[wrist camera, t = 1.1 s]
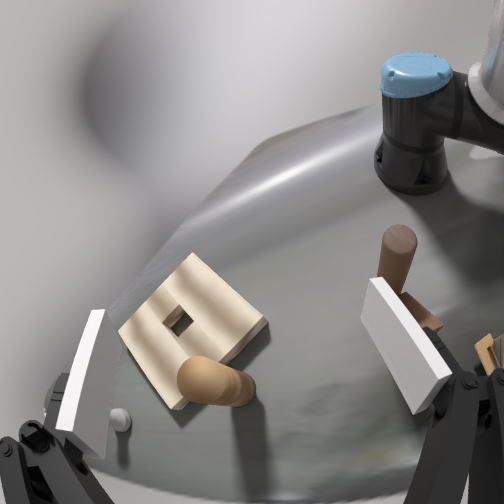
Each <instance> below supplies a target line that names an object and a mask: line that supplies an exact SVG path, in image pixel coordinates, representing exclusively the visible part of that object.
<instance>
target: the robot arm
mask: <svg viewBox="0 0 504 504" xmlns="http://www.w3.org/2000/svg"><path fill="white" fill-rule="evenodd" d="M380 89H381V92H382V106H383V133H382V135H381V138H380V140H379V142H378V145H377V147H376V150H375V154H374V166H375V170H376V172H377V174H378V176H379V177H380V178H381V180H382V181H383V182H384V183H386V184H387V185H388V186H390V187H391V188H393V189H395V190H397V191H399V192H402V193H406V194H411V195H424V194H429V193H432V192H434V191H436V190H437V189H439V188H440V187H441V186H442V184H443V183H444V180H445V177H446V173H447V160H446V154H445V149H444V137H446V138H451V139H455V140H459V141H463V142H466V143H470V144H473V145H477V146H480V147H484V148H487V149H490V150H493V151H496V152H498V153H500V154H502V155H504V0H494V5H493V12H492V18H491V24H490V29H489V34H488V39H487V43H486V48H485V52H484V57H483V60H482V61H480V62H477V63H475V64H474V65H473V66H472V67H471V69H470V71H469V73H468V75H467V74H463V73H459V72H455V71H453V70H452V68H451V65H450V64H449V63H448V62H447V61H446V60H445V59H443V58H441V57H436V56H435V55H432V54H428V53H419V52H411V53H403V54H398V55H396V56H393V57H391V58H390V59H388V60H387V61H386V62H385V63H384V64H383V66H382V69H381V85H380ZM360 319H361V321H362V323H363V324H364V326H365V328H366V330H367V331H368V333H369V335H370V336H371V338H372V340H373V342H374V343H375V345H376V347H377V349H378V350H379V352H380V354H381V356H382V358H383V359H384V361H385V363H386V365H387V367H388V368H389V370H390V372H391V374H392V376H393V378H394V379H395V381H396V383H397V385H398V387H399V389H400V391H401V393H402V394H403V396H404V398H405V400H406V402H407V404H408V406H409V408H410V410H411V412H412V414H413V415H414V414H416V413H419V412H421V411H423V410H426V409H427V408H428V406H429V405H430V404H431V402H432V403H433V405H434V408H433V409H432V410H431V412H430V413H429V414H428V415H427V417H426V419H425V420H428V419H429V418H430V416H431V418H430V422H429V426H428V430H427V434H426V438H425V442H424V445H423V449H422V452H421V456H420V459H419V462H418V465H417V468H416V471H415V474H414V477H413V480H412V483H411V485H410V488H409V491H408V493H407V496H406V498H405V501H404V503H403V504H460V503H461V499H462V496H463V492H464V489H465V485H466V481H467V477H468V472H469V489H468V504H504V368H496V369H495V370H493V372H492V373H491V374H490V375H489V376H481V377H477V376H476V375H474V374H473V373H471V372H467V371H463V370H462V369H461V367H460V366H459V364H458V363H457V361H456V360H455V358H454V357H453V356H452V354H451V353H450V351H449V350H448V349H447V348H446V346H445V344H444V343H443V342H442V341H441V339H440V337H439V336H438V335H437V333H436V332H435V331H433V330H432V329H431V328H429V327H428V326H426V327H423V328H421V327H420V326H419V324H418V323H417V322H416V320H415V319H414V318H413V316H412V315H411V314H410V312H409V311H408V310H407V308H406V307H405V306H404V304H403V303H402V302H401V300H400V299H399V298H398V296H397V295H396V294H395V293H394V291H393V290H392V289H391V287H390V286H389V285H388V284H387V282H386V281H385V280H384V279H383V277H378V278H372V279H369V284H368V288H367V292H366V297H365V301H364V305H363V309H362V313H361V317H360ZM122 348H123V347H122V345H121V343H120V341H119V339H118V337H117V335H116V333H115V330H114V328H113V326H112V324H111V321H110V319H109V317H108V315H107V312H106V310H104V309H103V310H92V311H91V314H90V317H89V319H88V322H87V325H86V327H85V330H84V333H83V336H82V339H81V341H80V344H79V347H78V350H77V353H76V356H75V359H74V362H73V365H72V369H71V372H70V373H62V374H61V375H60V377H59V378H58V379H57V381H56V383H55V386H54V389H53V393H52V396H51V401H50V403H49V406H48V410H47V414H46V417H45V421H44V425H42V424H40V422H38V421H36V420H29V421H27V422H25V423H24V424H23V425H22V427H21V428H20V430H19V440H20V442H17V441H16V440H14V439H13V438H11V437H9V436H7V437H3V438H1V440H0V477H1V482H2V488H3V492H4V497H5V501H6V504H114V502H113V501H112V500H111V499H110V497H109V496H108V494H107V493H106V492H105V490H104V489H103V488H102V486H101V485H100V484H99V482H98V481H97V479H96V478H95V476H94V475H93V473H92V472H91V470H90V469H89V467H88V466H87V464H86V463H85V461H84V460H83V459H82V456H83V453H84V454H85V455H86V456H88V457H89V458H95V459H103V460H105V452H106V443H107V435H108V427H109V420H110V413H111V406H112V400H113V394H114V388H115V383H116V377H117V372H118V367H119V362H120V357H121V352H122Z"/></svg>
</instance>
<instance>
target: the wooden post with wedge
mask: <svg viewBox="0 0 504 504" xmlns="http://www.w3.org/2000/svg"><path fill="white" fill-rule="evenodd" d="M416 248H417V238H416V235H415V233H414V232H413V231H412V230H411V229H410V228H408V227H406V226H404V225H394V226H392V227H390V228H388V229H387V230H386V231H385V233H384V235H383V238H382V246H381V253H380V261H379V267H378V274H377V278H378V277H383V279H384V280H385V281H386V282H387V284H388V285H389V286H390V287H391V289H392V290H393V291H394V293H395V294H396V295H397V296H398V298H399V299H400V300H401V302H402V303H403V304H404V306H405V307H406V308H407V310H408V311H409V312H410V314H411V315H412V316H413V318H414V319H415V320H416V322H417V323H418V324H419V326H420V327H421V328H423V327H426V326H428V327H429V328H431V329H432V330H433V331H435V332H436V333H437V332H438V331H439V330H440V329H441V328H442V327H443V324H442V323H441V322H440V321H439V320H438V319H437V318H436V317H434V316H433V315H432V314H431V313H430V312H429V311H428V310H427V309H426V308H424V307H423V306H422V305H421V304H420V303H419V302H418V301H416V300H415V299H414V298H413V297H412V296H411V295H410V294H408V293H407V292H404V293H402V294H400V293H401V291H402V288H403V285H404V283H405V280H406V277H407V274H408V271H409V269H410V266H411V263H412V260H413V257H414V254H415V251H416Z"/></svg>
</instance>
